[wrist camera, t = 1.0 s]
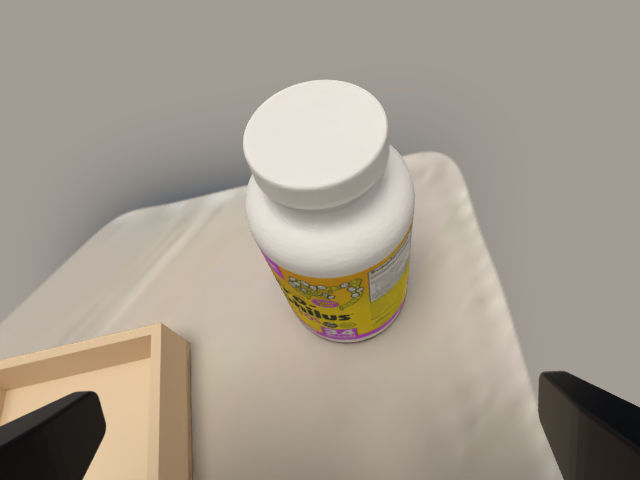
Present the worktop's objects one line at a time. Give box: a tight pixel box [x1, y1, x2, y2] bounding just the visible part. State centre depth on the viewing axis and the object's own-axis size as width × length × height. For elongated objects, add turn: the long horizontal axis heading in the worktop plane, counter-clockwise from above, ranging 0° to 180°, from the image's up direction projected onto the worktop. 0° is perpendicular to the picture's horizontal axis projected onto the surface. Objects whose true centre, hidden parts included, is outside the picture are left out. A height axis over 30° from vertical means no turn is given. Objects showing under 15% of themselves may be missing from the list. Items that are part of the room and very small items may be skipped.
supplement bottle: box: [243, 80, 415, 342], centre depth 19 cm, size 7×7×13 cm
